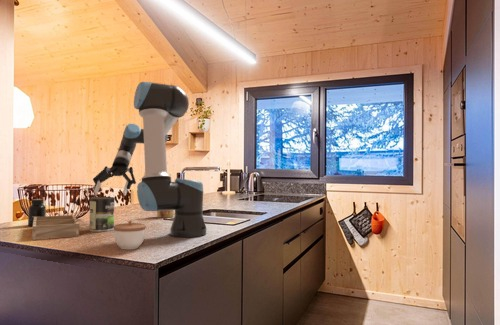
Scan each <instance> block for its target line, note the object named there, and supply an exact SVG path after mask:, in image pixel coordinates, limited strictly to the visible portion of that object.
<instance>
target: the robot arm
mask: <svg viewBox="0 0 500 325" xmlns="http://www.w3.org/2000/svg"><path fill="white" fill-rule="evenodd" d="M189 104H190V103H189V97H188V96H187V93H186V92H185V91H184V90H183V89H182V88H181V87H179V86H177V85H174V84H165V83H159V82H152V81H141V82H139V83H138V85H137V87H136V89H135V92H134V97H133V107H134V108H133V109H135V110H138V115H139V116H140V117H141V118H142V124H143V126H142V127H143V128H141V127H140V126H139V125H138V124H135V123H128V124H126V126H125V127H124V130H123V133H122V138H121V141H120V144H119V147H118V150H117V152H116V155H115V156H114V157H115V158H114V160H113V162H112V165H111V167H108V166H104V168H103V169H102V170H101V171H100V172H99V173H98V174H97V175H95V176H94V177H93V179H92V181H93V183H94V190H93V193H94V195H95V196H97V195H98V194H99V192H100V189H101V187H102V183H103V182H106V181H107V180H109V179H110V178H113V177H121V176H122V178H124V180H125V181H126V182H125V185H124V188H123V190H122V194H123V196H127V193H128V190H131V187H132V185H136V184H137V187H136V188H137V190H136V194H137V201H138V203H139V206H140V208H141V209H142V210H143V211H144V212H157V211H164V210H174V216H173V221H172V223H171V225H170V226H171V227H170V231H169V232H170V234H169V235H170V236H173V237H178V238H195V237H202V235H203V236H205V235H206V234H207V226H206V223H205V219H204V215H203V213H204V212H203V210H204V207H203V206H204V184H203V182H202V181H200V180H191V179H185V178H175V180H174V181H172V177H171V175H170V174H168V168H167V166H168V165H167V150H166V149H167V148H166V143H167V141H168V137H169V136H168V133H169V131H170V130H171V129H172V128H173V126H174V125H175V124H176V123H177V121H178V120H179V119H180V118H183V117H184V116H185V114H186V113H187V111H189V110H188V109H189ZM137 144H143V146H144V147H143V150H144V170H145V171H144V175H143V176H142V177H141V181H140V182H139V183H137V182H136V179H135V178H136V177H135V176H134V168H133V166H130V164H131V160H132V158H133V155H134V151H135V150H136V147H137ZM127 173H129V174H130V177H129V175H128V174H127Z"/></svg>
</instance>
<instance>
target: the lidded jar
mask: <svg viewBox="0 0 500 325" xmlns="http://www.w3.org/2000/svg"><path fill="white" fill-rule="evenodd" d="M132 221H133V220H128V222H127V223H118V224H116V225H115V224H114V230H113V235H114V241H115V243H116V244H117V246H118V247H119V248H120V249H121V250H136V249H138V248H139V247H140V246H141V245H142V243H143V242H144V240H145V237H146V229H147V225H146V224H144V223H141V222H139V223H138V222H132Z"/></svg>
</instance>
